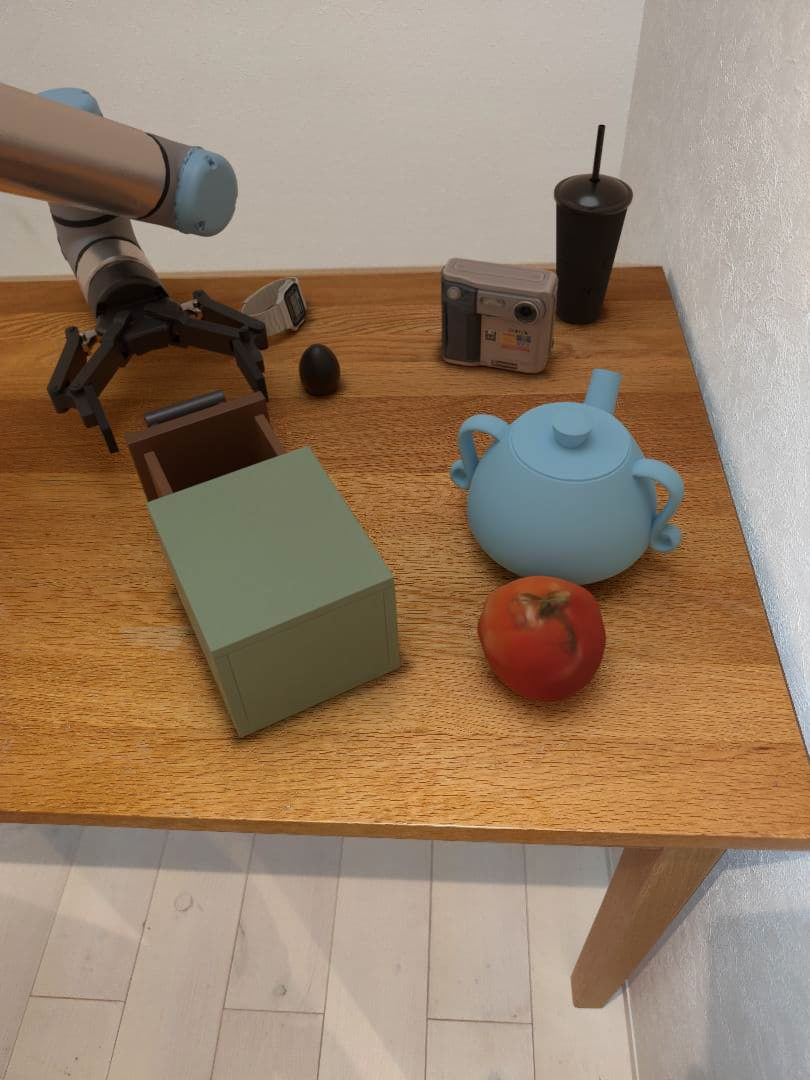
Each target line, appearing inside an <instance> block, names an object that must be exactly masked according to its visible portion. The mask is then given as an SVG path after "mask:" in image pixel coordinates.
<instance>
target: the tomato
mask: <svg viewBox="0 0 810 1080" xmlns="http://www.w3.org/2000/svg"><path fill="white" fill-rule="evenodd" d="M476 632H477V636H478V641H479V643H480V646H481V649H482V652H483V655H484V657H485V659H486V661H487V664H488V665H489V667H490V669H491V670H492V672H493V673H494V674H495V675H496V676H497V677H498V678H499V680H500V681H501V683H503V685H505V686H506V687H508V689H510V690H512V691H513V692H515V693H516V694H518V695H520V696H522V697H523V698H525V699H528V700H531V701H533V702H537V703H542V704H553V703H558V702H559V703H560V702H562V701H565V700H568V699H569V698H572V697H574V696H575V695H578V694H579V693H581V692H582V691H583V690H584V689H585V688H586V687H587V686H588V685H589V684H590V682H591V681H592V680H593V678H594V676H595V675H596V674H597V672H598V670H599V669H600V666H601V665H602V661H603V657H604V653H605V648H606V642H607V634H606V633H607V632H606V628H605V623H604V620H603V615H602V611H601V608H600V605H599V604H598V602H597V601H596V599H595V596H593V594H592V593H591V592H590V591H589V590H588V589H587V588H585V587H583V586H582V585H577V584H574V583H572V582H569V581H566V580H563V579H560V578H555V577H550V576H530V577H525V578H524V577H521V578H518V579H515V580H513V581H511V582H507V583H506V584H503V585H501V586H499V587H497V588H496V589H494V590H493V591H492V592H490V594H488V596H487V597H486V599H485V600H484V604H483V607H482V609H481V612H480V614H479V618H478V621H477V625H476Z"/></svg>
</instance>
